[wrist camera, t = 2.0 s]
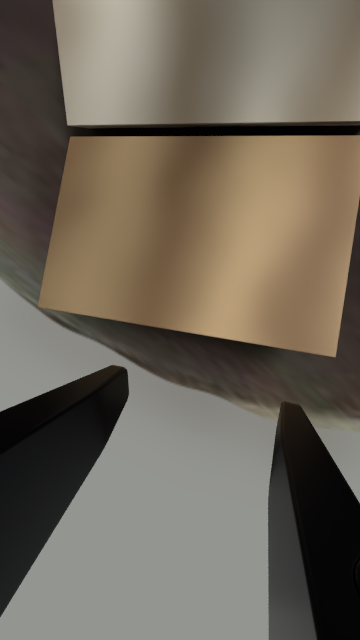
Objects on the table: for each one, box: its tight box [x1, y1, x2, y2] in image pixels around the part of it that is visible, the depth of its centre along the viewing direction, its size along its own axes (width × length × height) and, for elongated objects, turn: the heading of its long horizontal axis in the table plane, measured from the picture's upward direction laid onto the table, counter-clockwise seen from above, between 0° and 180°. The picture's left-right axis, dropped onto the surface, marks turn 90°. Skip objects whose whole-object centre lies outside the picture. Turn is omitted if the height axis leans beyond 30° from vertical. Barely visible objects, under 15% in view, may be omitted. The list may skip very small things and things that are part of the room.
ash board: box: [53, 0, 360, 128], centre depth 14 cm, size 14×6×2 cm, turn 89°
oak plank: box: [38, 136, 360, 357], centre depth 16 cm, size 14×9×2 cm, turn 89°
